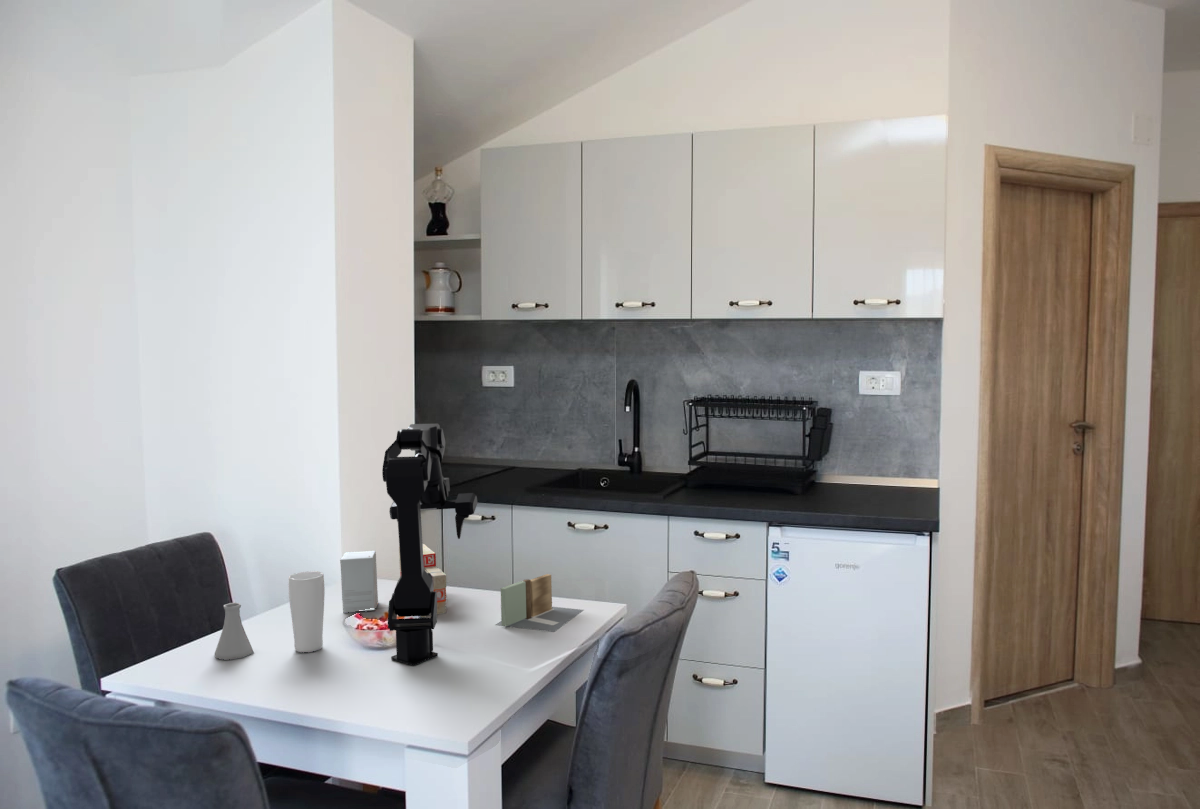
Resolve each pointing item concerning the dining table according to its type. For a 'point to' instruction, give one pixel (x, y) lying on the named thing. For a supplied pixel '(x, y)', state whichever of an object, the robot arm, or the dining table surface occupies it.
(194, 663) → the dining table surface
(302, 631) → the drinking glass
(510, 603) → the fence hinged panel
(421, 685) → the dining table surface
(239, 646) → the flask
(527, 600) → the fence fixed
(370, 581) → the supplement box
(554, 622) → the board
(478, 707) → the dining table surface
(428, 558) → the stack of blocks
